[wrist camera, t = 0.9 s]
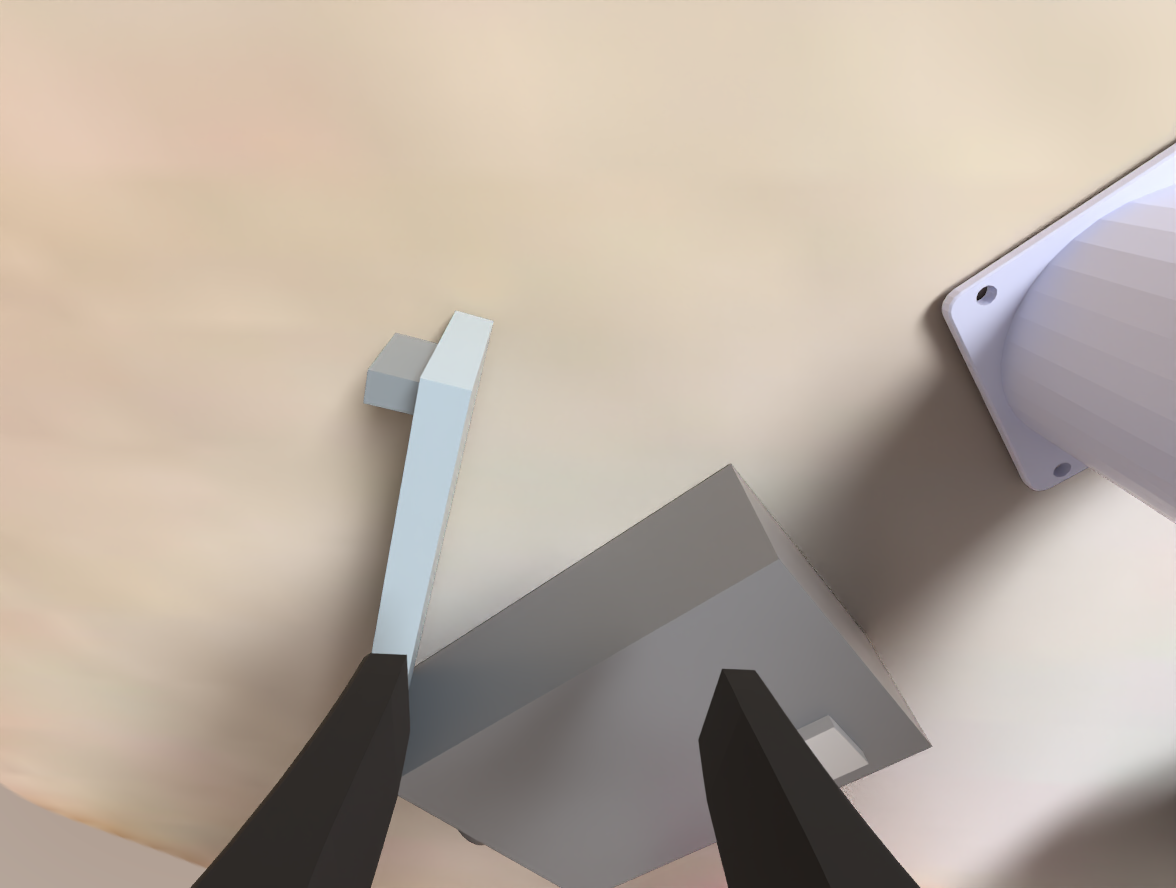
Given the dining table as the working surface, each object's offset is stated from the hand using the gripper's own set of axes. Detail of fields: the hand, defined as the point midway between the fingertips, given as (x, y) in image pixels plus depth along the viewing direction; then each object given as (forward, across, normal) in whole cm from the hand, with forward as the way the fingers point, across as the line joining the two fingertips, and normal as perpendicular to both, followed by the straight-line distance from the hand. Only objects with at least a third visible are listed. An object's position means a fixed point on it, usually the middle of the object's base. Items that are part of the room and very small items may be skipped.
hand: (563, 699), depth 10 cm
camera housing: (+8, -4, +8) cm, 12 cm away
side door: (+8, +4, +2) cm, 10 cm away
